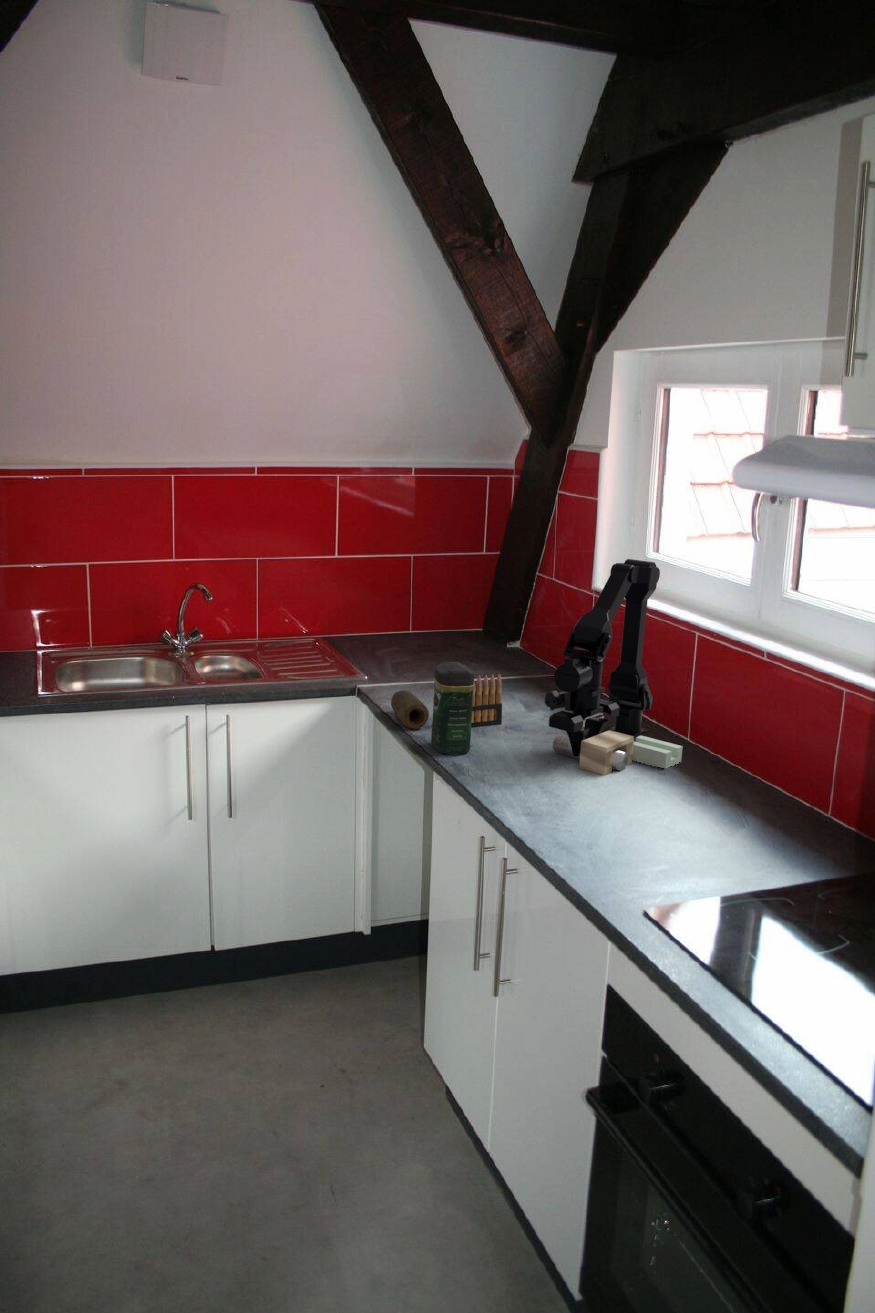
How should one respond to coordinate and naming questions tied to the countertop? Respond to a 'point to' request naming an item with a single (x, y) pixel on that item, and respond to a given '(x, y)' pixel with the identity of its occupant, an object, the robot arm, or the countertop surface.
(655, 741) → the v block
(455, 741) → the coffee jar
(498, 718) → the ammunition clip
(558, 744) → the axle
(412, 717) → the brown hollow cylinder
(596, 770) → the wooden bridge block
